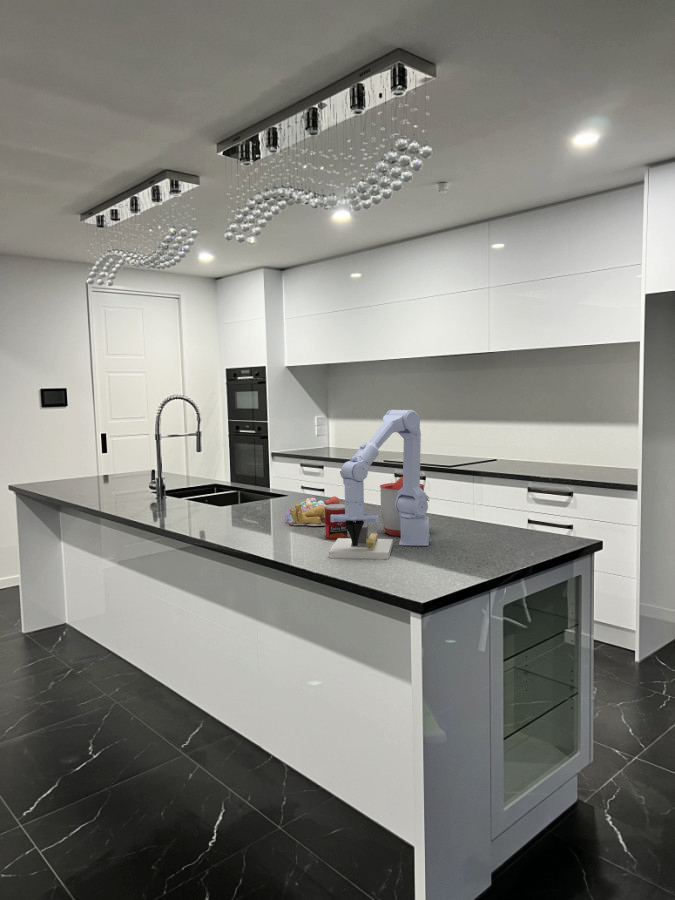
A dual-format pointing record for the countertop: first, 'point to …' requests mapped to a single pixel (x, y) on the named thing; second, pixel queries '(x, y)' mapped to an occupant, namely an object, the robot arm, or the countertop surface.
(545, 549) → the countertop surface
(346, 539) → the socket board
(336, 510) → the canned food
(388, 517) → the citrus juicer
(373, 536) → the clip
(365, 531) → the plug
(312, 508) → the candy landscape model
